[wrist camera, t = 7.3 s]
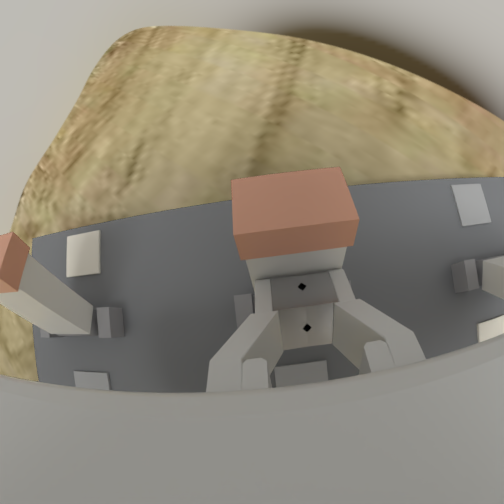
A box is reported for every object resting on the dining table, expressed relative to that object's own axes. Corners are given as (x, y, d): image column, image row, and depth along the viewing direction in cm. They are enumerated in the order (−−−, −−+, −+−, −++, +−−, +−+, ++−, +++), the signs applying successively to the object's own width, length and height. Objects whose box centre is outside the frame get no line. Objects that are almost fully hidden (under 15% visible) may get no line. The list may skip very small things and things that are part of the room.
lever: (103, 344, 15) (-2, 276, 8) (61, 343, 15) (-38, 282, 8) (106, 310, 16) (13, 231, 9) (66, 312, 16) (-25, 243, 9)
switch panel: (522, 344, 15) (552, 346, 11) (61, 404, 17) (30, 414, 14) (495, 187, 17) (521, 168, 14) (49, 244, 19) (19, 233, 16)
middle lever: (330, 326, 14) (359, 219, 7) (263, 335, 14) (233, 234, 8) (323, 289, 15) (339, 166, 9) (260, 297, 15) (230, 179, 9)
